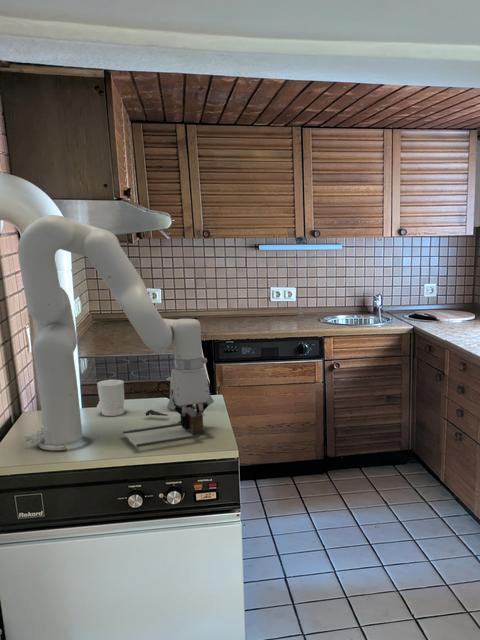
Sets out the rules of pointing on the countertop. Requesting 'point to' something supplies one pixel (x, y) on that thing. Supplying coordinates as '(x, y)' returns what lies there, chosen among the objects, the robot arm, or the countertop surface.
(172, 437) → the memo board
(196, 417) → the eraser
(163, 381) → the coffee mug
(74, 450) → the countertop surface
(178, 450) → the countertop surface
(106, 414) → the white cup
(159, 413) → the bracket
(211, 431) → the countertop surface
